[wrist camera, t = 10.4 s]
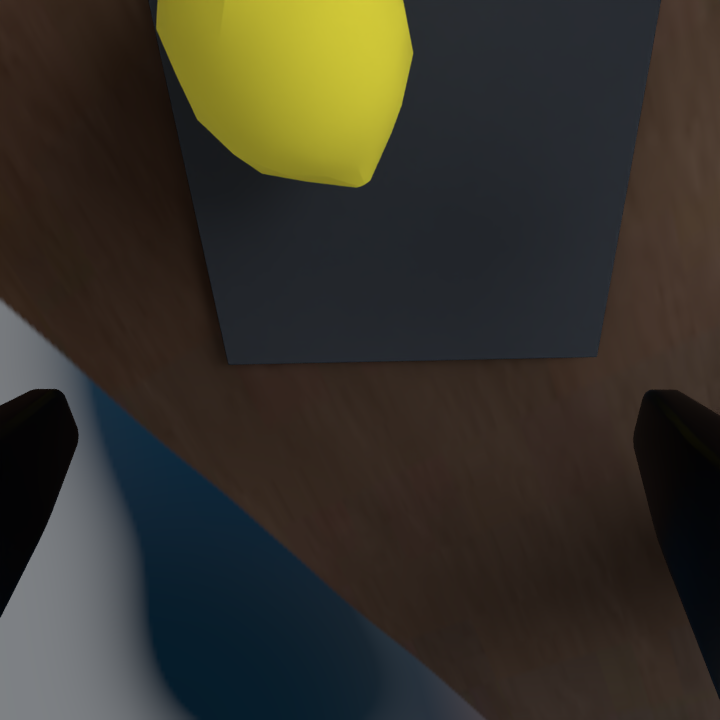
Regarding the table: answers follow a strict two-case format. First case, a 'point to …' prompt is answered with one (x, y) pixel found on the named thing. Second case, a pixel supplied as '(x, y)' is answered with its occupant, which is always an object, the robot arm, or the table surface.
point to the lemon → (293, 80)
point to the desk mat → (442, 198)
